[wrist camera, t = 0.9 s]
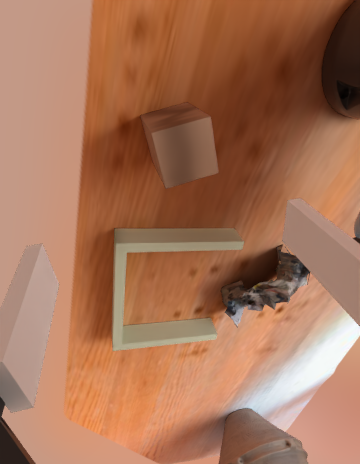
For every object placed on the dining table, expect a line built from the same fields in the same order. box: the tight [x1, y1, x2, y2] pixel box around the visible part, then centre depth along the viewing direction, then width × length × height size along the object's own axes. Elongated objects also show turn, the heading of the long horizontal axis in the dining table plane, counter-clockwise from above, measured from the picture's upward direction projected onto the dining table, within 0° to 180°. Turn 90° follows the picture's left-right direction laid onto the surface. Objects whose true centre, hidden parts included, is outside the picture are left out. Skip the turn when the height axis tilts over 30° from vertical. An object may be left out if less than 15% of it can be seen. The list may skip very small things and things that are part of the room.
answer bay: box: [112, 228, 244, 351], centre depth 49 cm, size 19×22×4 cm
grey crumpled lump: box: [221, 245, 310, 328], centre depth 52 cm, size 12×11×15 cm
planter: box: [219, 408, 308, 464], centre depth 74 cm, size 25×24×22 cm
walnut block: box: [140, 102, 219, 189], centre depth 34 cm, size 6×6×9 cm
